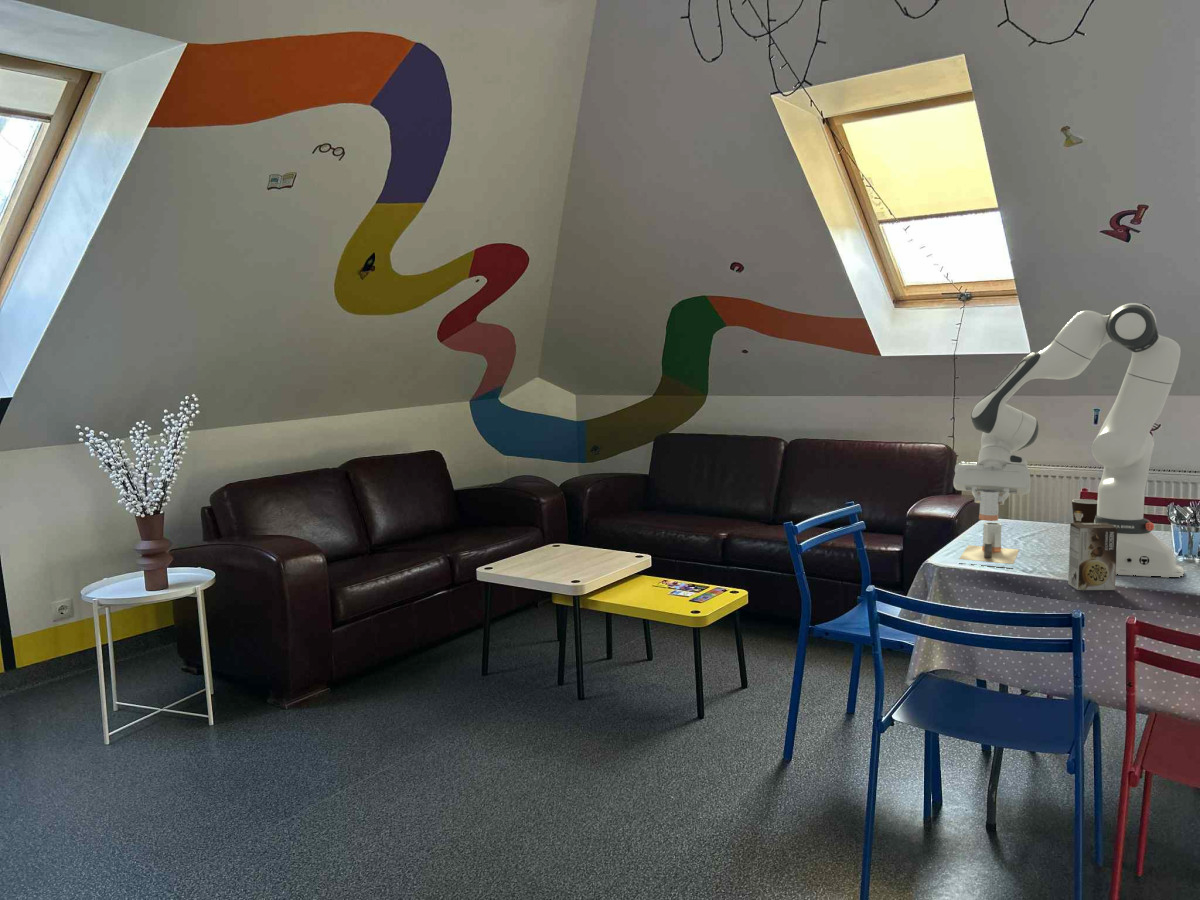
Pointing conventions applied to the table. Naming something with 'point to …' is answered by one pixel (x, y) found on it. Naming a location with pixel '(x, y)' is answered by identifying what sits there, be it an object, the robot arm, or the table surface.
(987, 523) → the sleeve
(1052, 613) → the table surface
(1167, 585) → the table surface
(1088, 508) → the coffee mug
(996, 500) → the steel sleeve
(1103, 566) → the coffee box
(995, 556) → the pin board
